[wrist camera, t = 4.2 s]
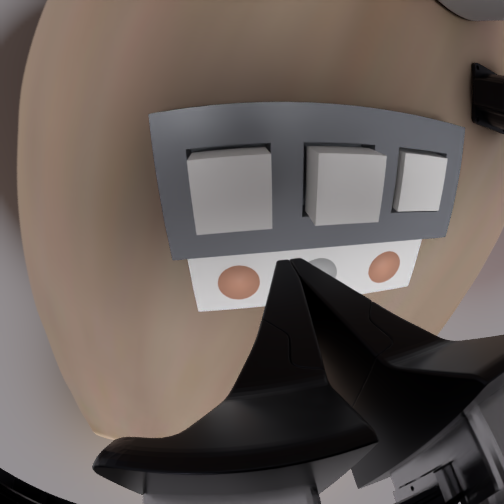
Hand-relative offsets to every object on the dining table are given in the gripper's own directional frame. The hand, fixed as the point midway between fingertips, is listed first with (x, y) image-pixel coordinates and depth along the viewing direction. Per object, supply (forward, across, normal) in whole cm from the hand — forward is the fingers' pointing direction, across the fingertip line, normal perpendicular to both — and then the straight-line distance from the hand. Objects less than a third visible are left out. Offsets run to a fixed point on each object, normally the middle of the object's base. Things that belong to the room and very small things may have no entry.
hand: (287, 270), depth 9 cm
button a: (+9, +1, 0) cm, 9 cm away
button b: (+10, -13, 0) cm, 16 cm away
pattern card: (+12, -6, +9) cm, 16 cm away
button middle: (+9, -6, 0) cm, 11 cm away
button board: (+12, -6, 0) cm, 13 cm away
